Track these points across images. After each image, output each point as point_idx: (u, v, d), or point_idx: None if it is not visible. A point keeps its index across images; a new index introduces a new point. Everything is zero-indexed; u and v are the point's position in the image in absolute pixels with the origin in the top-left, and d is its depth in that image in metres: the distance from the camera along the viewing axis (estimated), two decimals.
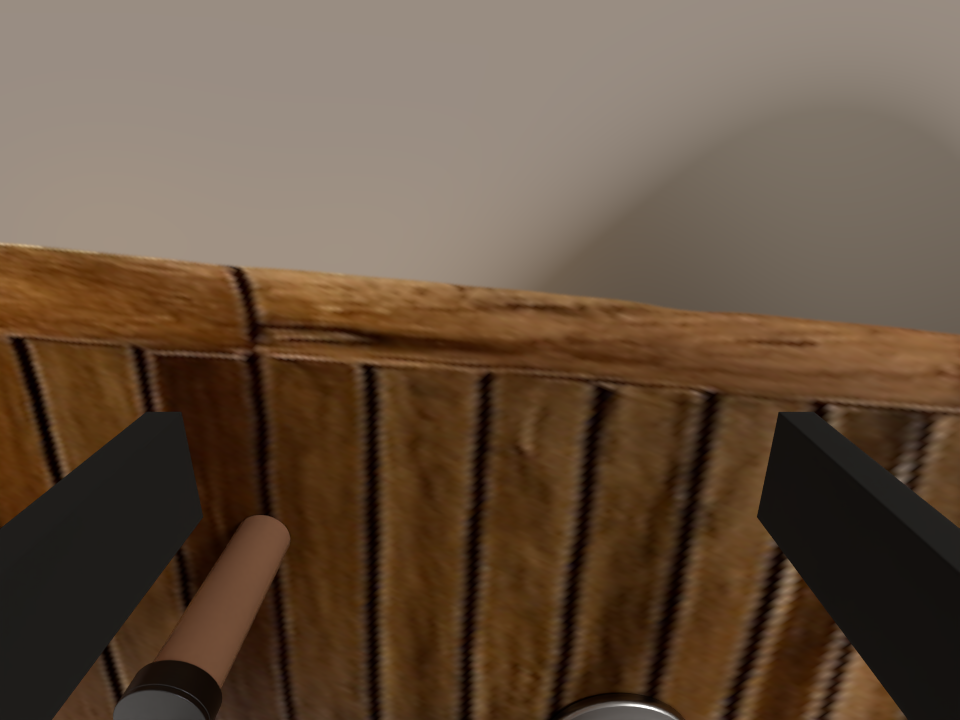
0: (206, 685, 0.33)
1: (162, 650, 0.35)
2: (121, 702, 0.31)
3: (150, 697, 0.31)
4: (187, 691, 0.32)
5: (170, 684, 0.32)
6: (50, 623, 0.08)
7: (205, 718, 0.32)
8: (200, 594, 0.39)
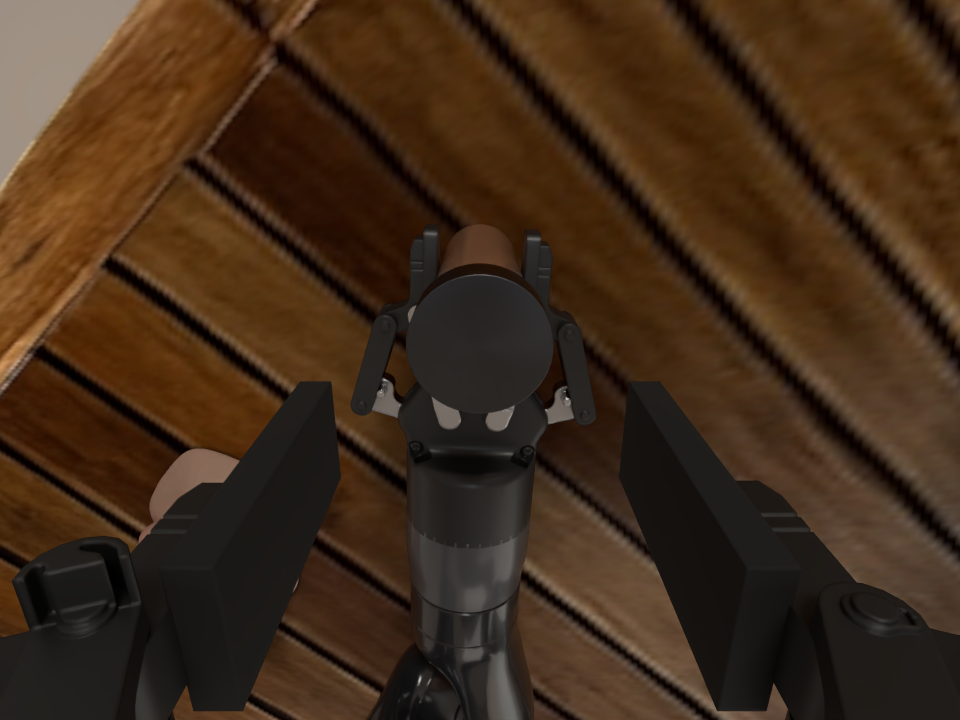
0: (492, 267, 0.20)
1: None
2: (410, 354, 0.20)
3: (432, 312, 0.20)
4: (468, 272, 0.20)
5: (442, 281, 0.20)
6: (276, 548, 0.10)
7: (521, 286, 0.19)
8: None
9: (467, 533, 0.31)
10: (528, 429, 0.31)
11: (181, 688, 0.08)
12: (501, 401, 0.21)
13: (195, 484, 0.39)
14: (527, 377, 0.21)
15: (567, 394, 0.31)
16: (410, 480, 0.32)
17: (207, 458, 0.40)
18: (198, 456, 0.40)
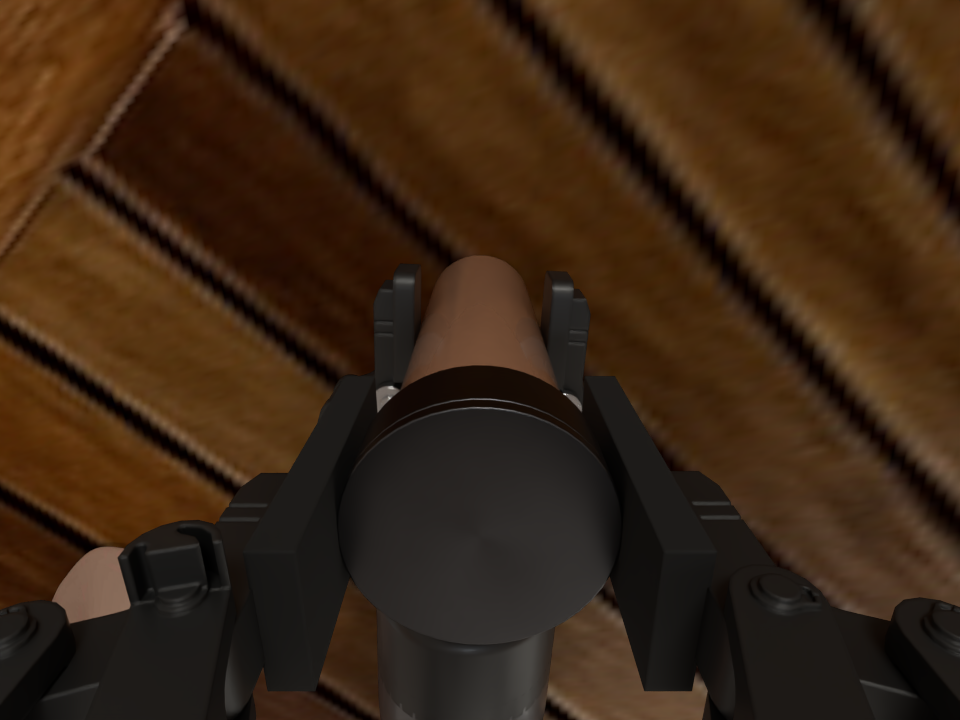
0: (504, 379, 0.11)
1: None
2: (345, 547, 0.10)
3: (385, 476, 0.10)
4: (457, 398, 0.10)
5: (404, 414, 0.10)
6: (337, 536, 0.10)
7: (563, 428, 0.10)
8: None
9: (461, 713, 0.21)
10: None
11: (260, 668, 0.09)
12: (519, 625, 0.11)
13: (102, 595, 0.30)
14: (570, 586, 0.11)
15: None
16: (380, 626, 0.22)
17: None
18: (106, 558, 0.30)
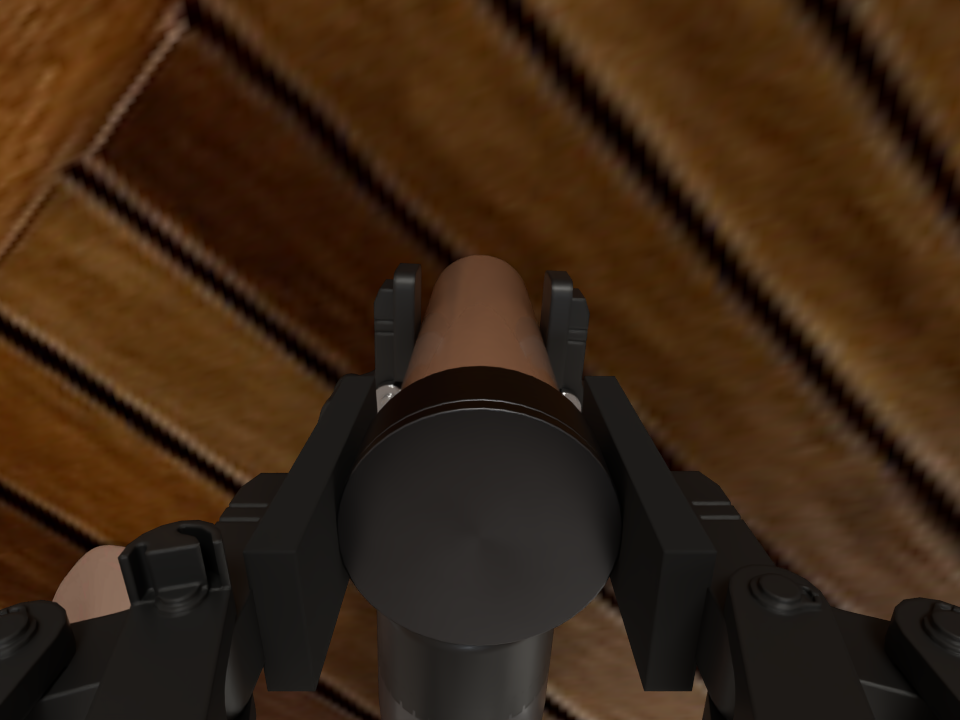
0: None
1: None
2: (483, 641, 0.11)
3: (407, 604, 0.11)
4: None
5: None
6: (337, 536, 0.10)
7: (359, 461, 0.10)
8: None
9: (461, 710, 0.21)
10: None
11: (260, 668, 0.09)
12: (600, 508, 0.10)
13: (103, 594, 0.30)
14: (553, 459, 0.10)
15: None
16: (380, 624, 0.22)
17: None
18: (107, 556, 0.30)
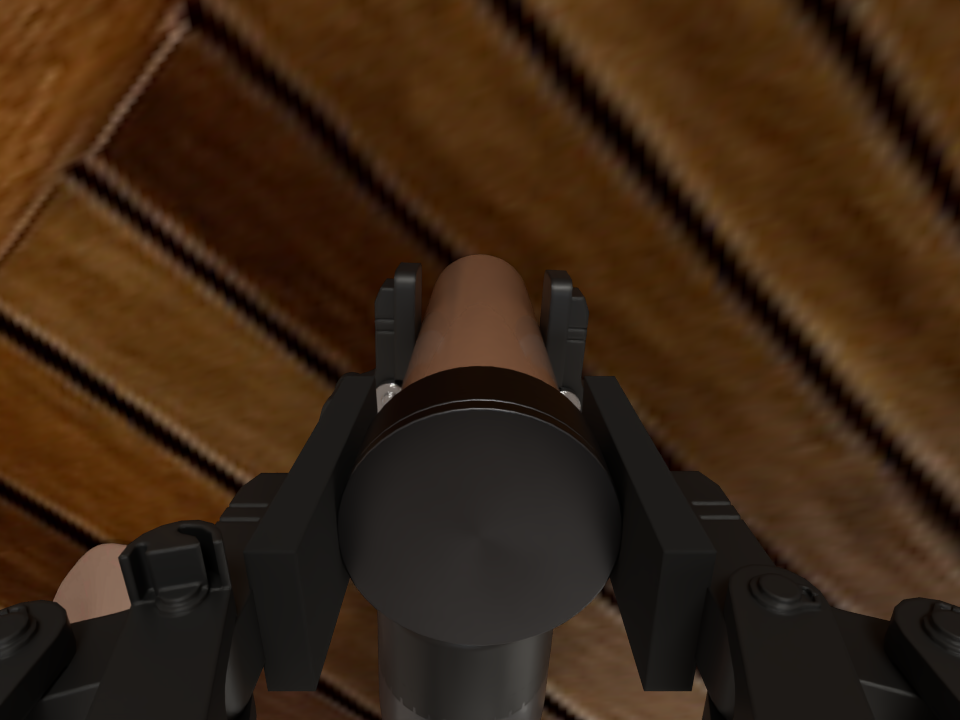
0: None
1: None
2: (615, 542, 0.10)
3: (555, 602, 0.11)
4: None
5: None
6: (337, 536, 0.10)
7: (392, 619, 0.11)
8: None
9: (461, 707, 0.21)
10: None
11: (260, 668, 0.09)
12: (450, 430, 0.10)
13: (104, 592, 0.30)
14: (391, 472, 0.10)
15: None
16: (380, 622, 0.23)
17: None
18: (109, 554, 0.30)
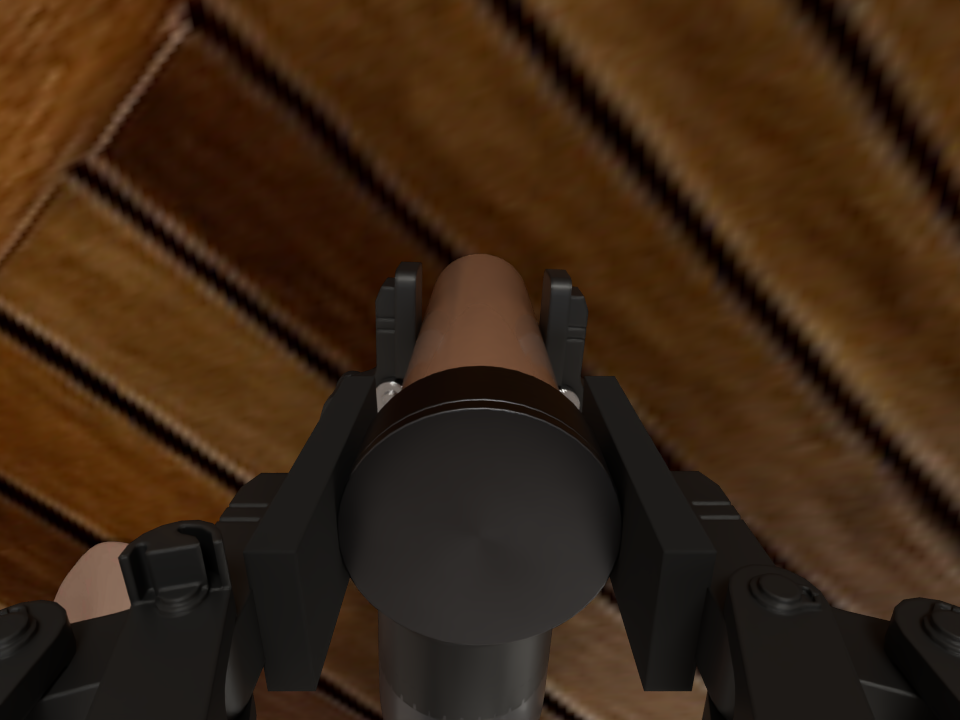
0: None
1: None
2: (495, 415, 0.10)
3: (571, 474, 0.10)
4: None
5: None
6: (337, 536, 0.10)
7: (574, 614, 0.11)
8: None
9: (461, 704, 0.21)
10: None
11: (260, 668, 0.09)
12: (359, 552, 0.10)
13: (106, 589, 0.30)
14: (402, 599, 0.11)
15: None
16: (381, 619, 0.23)
17: None
18: (110, 552, 0.30)
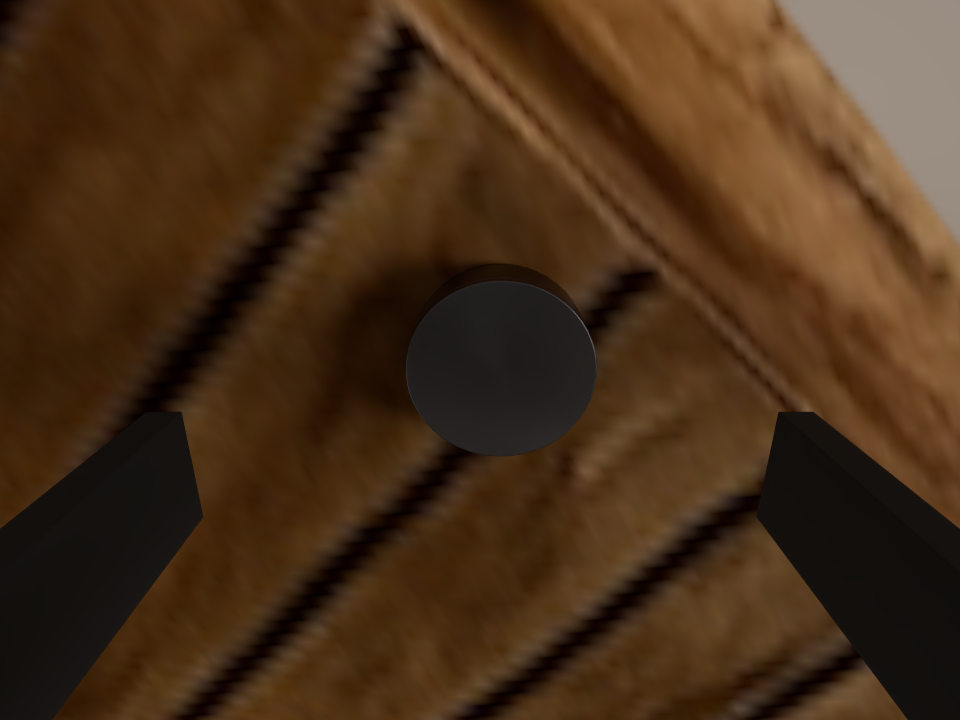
0: None
1: None
2: (512, 286, 0.15)
3: (561, 327, 0.15)
4: None
5: None
6: (50, 623, 0.08)
7: (564, 433, 0.16)
8: None
9: None
10: None
11: None
12: (420, 385, 0.16)
13: None
14: (447, 420, 0.16)
15: None
16: None
17: None
18: None
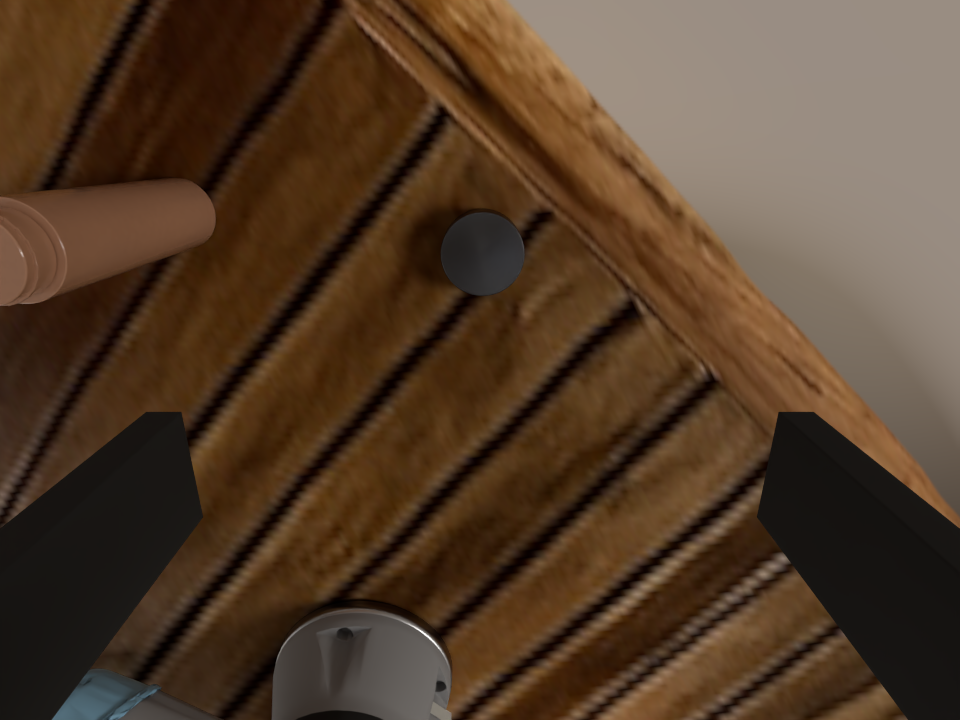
0: None
1: (19, 194, 0.24)
2: (487, 214, 0.35)
3: (508, 233, 0.35)
4: None
5: None
6: (50, 623, 0.08)
7: (511, 283, 0.36)
8: (94, 187, 0.28)
9: None
10: None
11: None
12: (447, 260, 0.36)
13: None
14: (459, 277, 0.36)
15: None
16: None
17: None
18: None
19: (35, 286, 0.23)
